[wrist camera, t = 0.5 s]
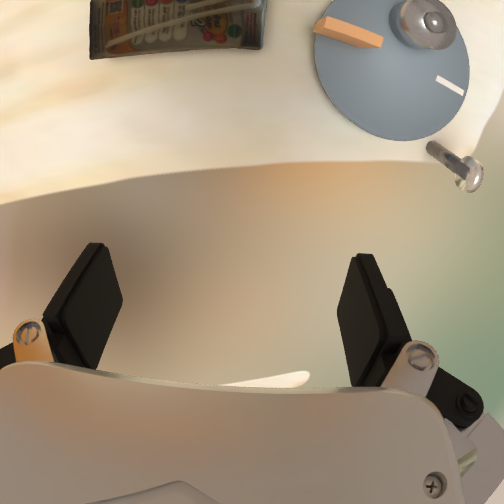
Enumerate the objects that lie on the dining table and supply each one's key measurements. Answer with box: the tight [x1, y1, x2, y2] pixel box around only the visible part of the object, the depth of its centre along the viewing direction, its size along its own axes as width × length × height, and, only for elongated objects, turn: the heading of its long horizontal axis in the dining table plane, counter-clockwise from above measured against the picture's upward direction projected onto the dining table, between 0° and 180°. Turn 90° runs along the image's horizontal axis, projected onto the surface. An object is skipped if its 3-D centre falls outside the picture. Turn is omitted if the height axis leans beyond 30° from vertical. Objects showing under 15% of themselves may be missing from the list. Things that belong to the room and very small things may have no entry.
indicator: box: [426, 141, 483, 193], centre depth 31 cm, size 4×2×12 cm, turn 167°
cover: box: [389, 0, 457, 50], centre depth 22 cm, size 6×6×6 cm
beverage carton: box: [89, 0, 267, 60], centre depth 26 cm, size 8×19×7 cm, turn 87°
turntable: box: [313, 0, 469, 141], centre depth 25 cm, size 20×20×8 cm
